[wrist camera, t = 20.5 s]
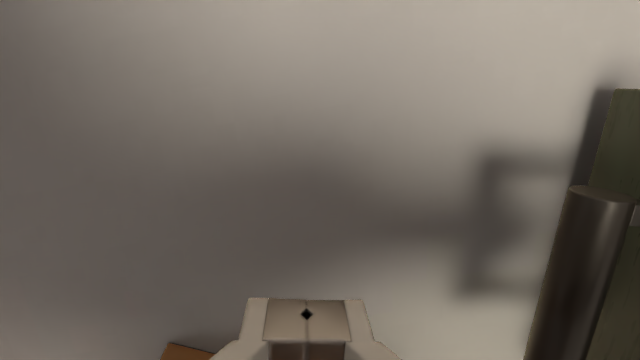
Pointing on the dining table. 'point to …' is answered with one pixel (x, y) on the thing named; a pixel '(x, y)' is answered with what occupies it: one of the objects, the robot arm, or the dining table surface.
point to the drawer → (597, 254)
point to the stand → (184, 353)
